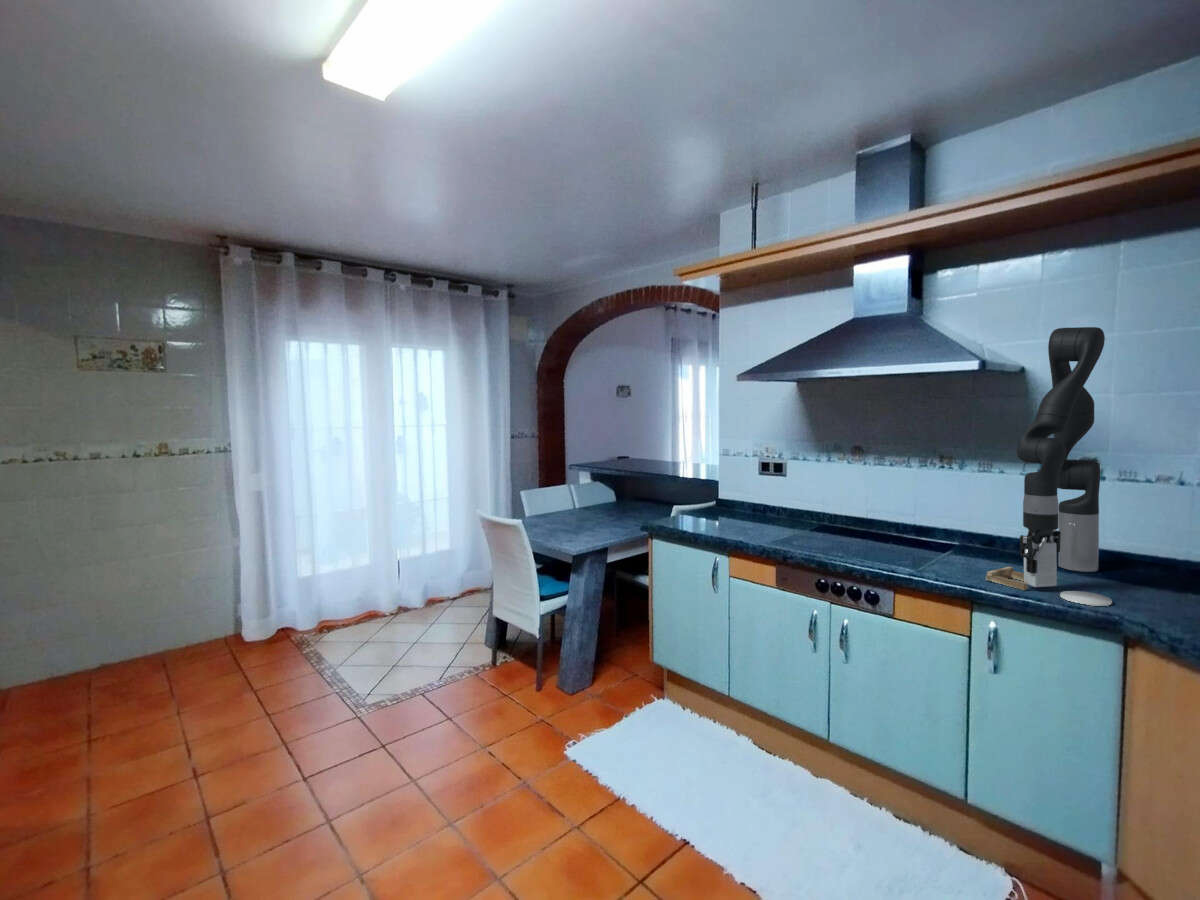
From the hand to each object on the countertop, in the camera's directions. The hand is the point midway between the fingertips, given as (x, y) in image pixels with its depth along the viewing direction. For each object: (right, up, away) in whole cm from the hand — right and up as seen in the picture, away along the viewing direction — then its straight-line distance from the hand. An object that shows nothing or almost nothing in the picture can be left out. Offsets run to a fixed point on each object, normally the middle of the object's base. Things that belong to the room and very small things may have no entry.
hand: (1040, 570), depth 150 cm
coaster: (+4, -6, -9) cm, 12 cm away
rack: (-2, -5, +6) cm, 8 cm away
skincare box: (0, -4, 0) cm, 4 cm away
